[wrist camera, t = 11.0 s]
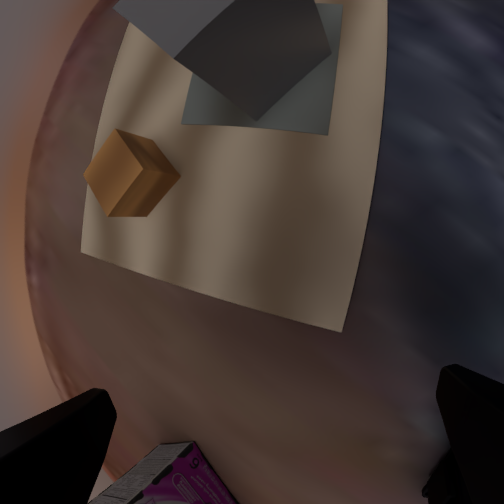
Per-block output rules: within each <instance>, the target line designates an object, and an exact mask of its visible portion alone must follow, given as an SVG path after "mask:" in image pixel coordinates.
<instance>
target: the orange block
mask: <svg viewBox="0 0 504 504" xmlns="http://www.w3.org/2000/svg"><path fill="white" fill-rule="evenodd" d="M83 175H84V177H85V179H86V181H87V183H88V184H89V186H90V188H91V190H92V192H93V193H94V195H95V197H96V199H97V200H98V202H99V204H100V205H101V207H102V209H103V211H104V212H105V214H106V216H107V217H147V216H148V215H149V214H150V212H151V211H152V210H153V209H154V208H155V206H156V205H157V204H158V203H159V202H160V201H161V199H162V198H163V197H164V196H165V195H166V193H167V192H168V191H169V190H170V189H171V188H172V187H173V185H174V184H175V183H176V182H177V181H178V180H179V179H180V177H181V176H180V174H179V173H178V172H177V170H176V169H175V168H174V167H173V165H172V164H171V163H170V162H169V160H168V159H167V158H166V157H165V155H164V154H163V153H162V151H161V150H160V149H159V148H158V146H157V145H156V144H155V142H154V141H153V140H151V139H148V138H145V137H142V136H138V135H135V134H132V133H129V132H126V131H122V130H119V129H116V128H115V129H114V130H113V131H112V133H111V134H110V136H109V137H108V138H107V140H106V141H105V143H104V144H103V145H102V147H101V148H100V150H99V151H98V153H97V154H96V156H95V157H94V159H93V160H92V162H91V163H90V165H89V166H88V168H87V169H86V171H85V172H84V174H83Z"/></svg>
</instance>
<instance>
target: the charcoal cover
mask: <svg viewBox="0 0 504 504" xmlns="http://www.w3.org/2000/svg"><path fill="white" fill-rule="evenodd" d="M113 9H114V10H116V11H117V12H118V13H119V14H121V15H122V16H123V17H124V18H126V19H127V20H128V21H129V22H131V23H132V24H133V25H134V26H136V27H137V28H138V29H139V30H140V31H142V32H143V33H144V34H145V35H146V36H148V37H149V38H150V39H151V40H152V41H153V42H155V43H156V44H157V45H158V46H159V47H160V48H162V49H163V50H164V51H165V52H166V53H167V54H168V55H170V56H171V57H172V58H173V59H174V60H176V61H177V62H179V63H180V64H182V65H183V66H184V67H186V68H187V69H189V70H190V71H191V72H193V73H194V74H196V75H197V76H198V77H200V78H201V79H202V80H204V81H205V82H206V83H208V84H209V85H210V86H212V87H213V88H214V89H216V90H217V91H218V92H220V93H221V94H222V95H224V96H225V97H226V98H227V99H229V100H230V101H231V102H233V103H234V104H235V105H236V106H238V107H239V108H240V109H241V110H243V111H244V112H245V113H246V114H248V115H249V116H250V117H251V118H253V119H254V120H255V121H257V120H258V119H259V118H261V117H262V116H263V115H264V114H265V113H266V112H267V111H268V110H269V109H270V108H271V107H272V106H273V105H274V104H275V103H276V102H277V101H279V100H280V99H281V98H282V97H283V96H284V95H285V94H286V93H287V92H288V91H289V90H291V89H292V88H293V87H294V86H295V85H296V84H297V83H298V82H299V81H301V80H302V79H303V78H304V77H305V76H306V75H307V74H309V73H310V72H311V71H312V70H313V69H314V68H315V67H317V66H318V65H319V64H320V63H321V62H322V61H324V60H325V59H326V58H327V57H328V56H330V55H331V54H332V52H331V49H330V46H329V43H328V39H327V36H326V33H325V30H324V27H323V24H322V21H321V18H320V15H319V12H318V9H317V7H316V4H315V1H314V0H120V1H119V2H118V3H117V4H116V5H115V6H114V7H113Z"/></svg>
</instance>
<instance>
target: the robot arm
mask: <svg viewBox="0 0 504 504" xmlns="http://www.w3.org/2000/svg"><path fill="white" fill-rule="evenodd" d="M436 399H437V403H438V406H439V409H440V412H441V415H442V419H443V422H444V425H445V429H446V432H447V436H448V439H449V442H450V445H451V449H450V451H449V453H448V454H447V456H446V457H445V459H444V460H442V461H441V463H440V464H439V466H438V467H437V469H436V470H435V472H434V473H433V474H432V476H431V477H430V479H429V480H428V481H427V485H426V486H425V487H424V489H423V490H422V496H423V497H426V498H428V503H429V504H504V384H502V383H500V382H498V381H495V380H493V379H490V378H488V377H486V376H483V375H481V374H479V373H476V372H474V371H472V370H470V369H467V368H465V367H463V366H460V365H458V364H452V365H448V366H445V367H443V368H442V369H441V372H440V376H439V381H438V385H437V390H436ZM116 418H117V413H116V410H115V407H114V405H113V403H112V401H111V398H110V396H109V394H108V392H107V391H106V390H104V389H98V388H92V389H90V390H88V391H86V392H84V393H82V394H80V395H78V396H76V397H74V398H72V399H70V400H68V401H66V402H64V403H61V404H59V405H57V406H55V407H53V408H51V409H49V410H47V411H45V412H43V413H41V414H38V415H36V416H34V417H32V418H30V419H27V420H25V421H23V422H21V423H19V424H17V425H14V426H12V427H10V428H8V429H5V430H3V431H1V432H0V504H87V503H88V500H89V497H90V495H91V492H92V490H93V487H94V485H95V482H96V480H97V477H98V475H99V472H100V470H101V467H102V465H103V462H104V459H105V456H106V453H107V449H108V446H109V442H110V439H111V435H112V432H113V429H114V425H115V422H116Z"/></svg>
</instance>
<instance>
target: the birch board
mask: <svg viewBox="0 0 504 504" xmlns="http://www.w3.org/2000/svg"><path fill="white" fill-rule="evenodd" d="M314 1H315V4H316V7H317V9H318V12H319V15H320V18H321V21H322V24H323V27H324V30H325V33H326V36H327V39H328V43H329V46H330V49H331V52H332V54H331V55H330V56H328V57H327V58H326V59H325V60H324V61H322V62H321V63H320V64H319V65H318V66H317V67H315V68H314V69H313V70H312V71H311V72H310V73H309V74H307V75H306V76H305V77H304V78H303V79H302V80H301V81H299V82H298V83H297V84H296V85H295V86H294V87H293V88H292V89H291V90H289V91H288V92H287V93H286V94H285V95H284V96H283V97H282V98H281V99H280V100H279V101H277V102H276V103H275V104H274V105H273V106H272V107H271V108H270V109H269V110H268V111H267V112H266V113H265V114H264V115H263V116H262V117H261V118H259V119H258V120H257V121H255V120H254V119H253V118H251V117H250V116H249V115H248V114H246V113H245V112H244V111H243V110H241V109H240V108H239V107H238V106H236V105H235V104H234V103H233V102H231V101H230V100H229V99H227V98H226V97H225V96H224V95H222V94H221V93H220V92H218V91H217V90H216V89H214V88H213V87H212V86H210V85H209V84H208V83H206V82H205V81H204V80H202V79H201V78H200V77H198V76H197V75H196V74H194V73H193V72H191V71H190V70H189V69H187V68H186V67H184V66H183V65H182V64H180V63H179V62H177V61H176V60H174V59H173V58H172V57H171V56H170V55H168V54H167V53H166V52H165V51H164V50H163V49H162V48H160V47H159V46H158V45H157V44H156V43H155V42H153V41H152V40H151V39H150V38H149V37H148V36H146V35H145V34H144V33H143V32H142V31H140V30H139V29H138V28H137V27H136V26H134V25H133V24H132V23H131V22H129V25H128V28H127V30H126V33H125V36H124V39H123V42H122V44H121V47H120V50H119V53H118V56H117V60H116V63H115V66H114V69H113V73H112V76H111V79H110V83H109V86H108V90H107V94H106V98H105V101H104V105H103V109H102V114H101V118H100V122H99V127H98V131H97V136H96V141H95V146H94V151H93V157H92V160H93V159H94V157H95V156H96V154H97V153H98V151H99V150H100V148H101V147H102V145H103V144H104V143H105V141H106V140H107V138H108V137H109V136H110V134H111V133H112V131H113V130H114V129H115V128H116V129H119V130H122V131H126V132H129V133H132V134H135V135H138V136H142V137H145V138H148V139H151V140H153V141H154V142H155V144H156V145H157V146H158V148H159V149H160V150H161V151H162V153H163V154H164V155H165V157H166V158H167V159H168V160H169V162H170V163H171V164H172V165H173V167H174V168H175V169H176V170H177V172H178V173H179V174H180V176H181V177H180V179H179V180H178V181H177V182H176V183H175V184H174V185H173V187H172V188H171V189H170V190H169V191H168V192H167V193H166V195H165V196H164V197H163V198H162V199H161V201H160V202H159V203H158V204H157V205H156V206H155V208H154V209H153V210H152V211H151V212H150V214H149V215H148V216H147V217H107V216H106V214H105V212H104V211H103V209H102V207H101V205H100V204H99V202H98V200H97V199H96V197H95V195H94V193H93V192H92V190H91V188H90V186H89V184H88V187H87V195H86V203H85V211H84V220H83V231H82V243H81V252H82V253H85V254H88V255H90V256H93V257H96V258H98V259H101V260H104V261H107V262H110V263H112V264H115V265H118V266H121V267H124V268H127V269H129V270H132V271H135V272H138V273H141V274H144V275H147V276H150V277H153V278H156V279H159V280H162V281H165V282H168V283H171V284H174V285H177V286H180V287H183V288H187V289H190V290H193V291H196V292H199V293H202V294H206V295H209V296H212V297H215V298H219V299H222V300H225V301H228V302H232V303H235V304H239V305H242V306H245V307H249V308H252V309H256V310H259V311H263V312H266V313H270V314H273V315H277V316H280V317H284V318H288V319H291V320H295V321H299V322H302V323H306V324H310V325H314V326H318V327H321V328H325V329H329V330H333V331H337V332H342V329H343V325H344V321H345V318H346V314H347V310H348V306H349V302H350V298H351V294H352V290H353V286H354V282H355V278H356V273H357V269H358V264H359V260H360V255H361V250H362V246H363V241H364V236H365V231H366V226H367V220H368V215H369V209H370V204H371V198H372V192H373V185H374V179H375V172H376V165H377V158H378V150H379V142H380V134H381V125H382V115H383V104H384V91H385V77H386V58H387V0H314Z"/></svg>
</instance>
